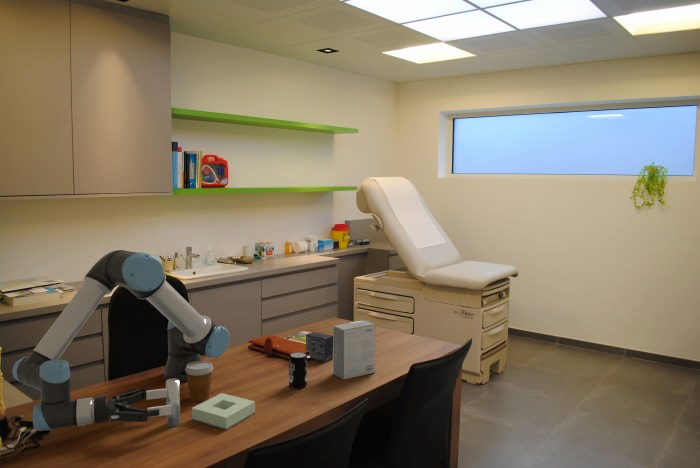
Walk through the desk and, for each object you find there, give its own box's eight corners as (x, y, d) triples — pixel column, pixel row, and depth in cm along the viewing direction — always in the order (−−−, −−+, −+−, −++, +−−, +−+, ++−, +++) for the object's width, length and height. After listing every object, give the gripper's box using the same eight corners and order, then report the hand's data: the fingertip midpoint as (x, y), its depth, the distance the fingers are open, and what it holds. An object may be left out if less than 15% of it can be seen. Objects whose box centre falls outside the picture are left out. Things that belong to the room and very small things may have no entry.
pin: (163, 425, 171) (163, 381, 169) (173, 420, 174) (172, 377, 173) (173, 428, 169) (172, 384, 167) (182, 423, 172) (182, 379, 171)
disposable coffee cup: (188, 405, 185) (188, 371, 184) (183, 395, 194) (182, 362, 192) (216, 401, 190) (216, 367, 188) (210, 391, 198) (209, 358, 197)
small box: (333, 359, 236) (334, 335, 234) (325, 363, 230) (325, 338, 229) (314, 354, 241) (314, 331, 240) (305, 358, 236) (305, 334, 235)
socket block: (192, 420, 175) (192, 407, 174) (221, 404, 187) (221, 392, 187) (226, 430, 168) (226, 417, 168) (255, 413, 180) (255, 401, 180)
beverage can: (304, 390, 201) (304, 358, 200) (286, 388, 202) (286, 356, 201) (308, 383, 207) (309, 352, 206) (292, 381, 208) (292, 351, 207)
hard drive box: (364, 367, 226) (365, 319, 224) (375, 373, 219) (376, 324, 217) (332, 374, 217) (332, 324, 215) (342, 380, 211) (343, 329, 209)
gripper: (96, 406, 174) (167, 397, 182) (91, 441, 151) (172, 429, 159) (95, 383, 173) (166, 375, 181) (90, 415, 150) (172, 404, 158)
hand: (169, 400), depth 170 cm, fingers open, 13 cm apart
